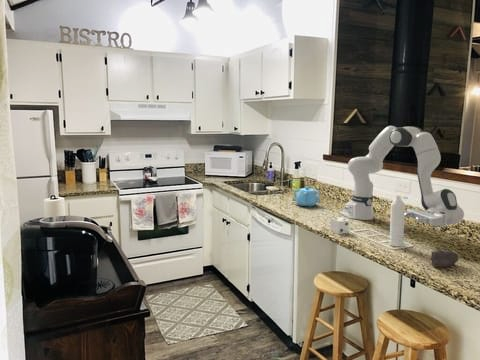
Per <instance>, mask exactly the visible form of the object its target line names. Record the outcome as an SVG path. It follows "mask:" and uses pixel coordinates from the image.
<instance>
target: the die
mask: <svg viewBox="0 0 480 360" xmlns="http://www.w3.org/2000/svg"><path fill="white" fill-rule="evenodd" d="M349 231H350V219H346V218H344V217H342V216H341V217H331V218H330V232H334V233H335V234H337V235H340V234H341V233H342V234H349V233H350V232H349Z"/></svg>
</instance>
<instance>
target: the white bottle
mask: <svg viewBox="0 0 480 360" xmlns="http://www.w3.org/2000/svg"><path fill="white" fill-rule="evenodd" d="M401 196H402V195H397V194H396V195H395V198H394V200H393V201H392V202H391V204H390V218H389V219H390V220H389V221H390V222H389V236H390V238H389V239H388V240H389V242H388V243H389V245H390V246H392V247H402V246H404V243H403V242H404V238H405V233H404V232H405V217H404V215H405V214H404V213H406V205H405V203H404V201H403V200H402V199H405V200H407V199H409V197H408V196H407V195H404V196H402V197H401Z"/></svg>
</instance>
